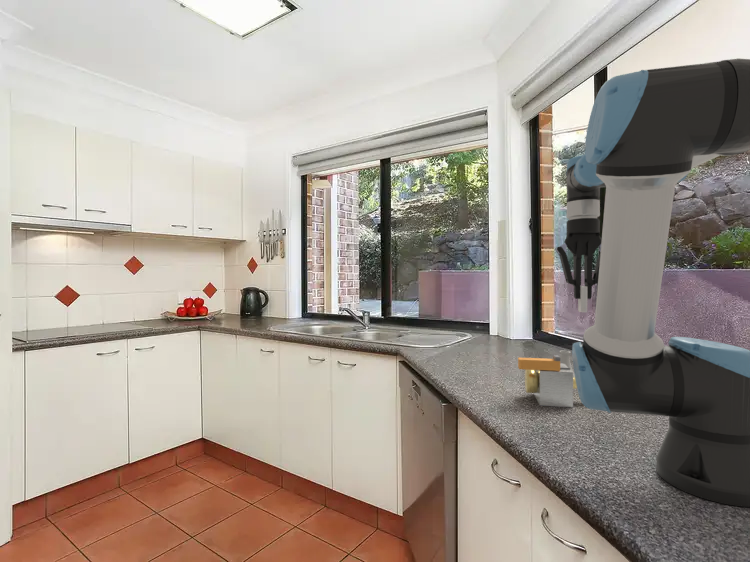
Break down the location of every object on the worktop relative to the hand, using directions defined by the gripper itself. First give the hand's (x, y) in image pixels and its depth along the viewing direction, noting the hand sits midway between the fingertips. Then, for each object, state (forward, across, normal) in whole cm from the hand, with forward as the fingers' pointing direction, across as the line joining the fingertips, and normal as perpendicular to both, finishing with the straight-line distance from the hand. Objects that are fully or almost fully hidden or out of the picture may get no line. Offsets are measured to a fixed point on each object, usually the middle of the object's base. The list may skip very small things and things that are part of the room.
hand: (582, 311), depth 104 cm
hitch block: (+24, +6, -4) cm, 26 cm away
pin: (+23, +5, -4) cm, 24 cm away
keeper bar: (+15, +10, -1) cm, 18 cm away
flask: (+25, -1, -22) cm, 33 cm away
